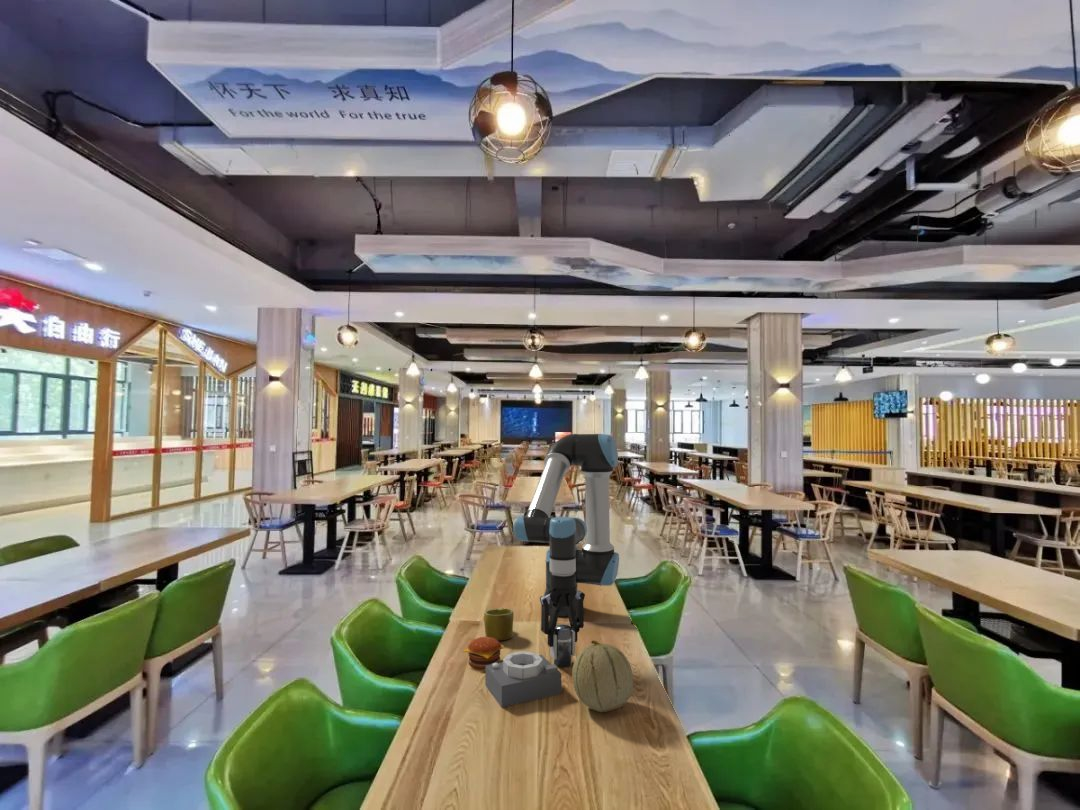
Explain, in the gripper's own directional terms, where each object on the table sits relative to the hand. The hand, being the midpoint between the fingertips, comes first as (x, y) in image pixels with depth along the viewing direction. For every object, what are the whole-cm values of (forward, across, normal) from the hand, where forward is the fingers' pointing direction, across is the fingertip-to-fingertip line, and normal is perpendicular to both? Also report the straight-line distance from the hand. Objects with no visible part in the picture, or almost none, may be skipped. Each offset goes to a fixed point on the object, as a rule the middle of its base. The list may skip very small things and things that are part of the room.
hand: (562, 655), depth 150 cm
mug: (+3, +9, -27) cm, 29 cm away
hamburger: (+3, +20, -10) cm, 23 cm away
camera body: (+2, +16, +9) cm, 18 cm away
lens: (+2, 0, 0) cm, 2 cm away
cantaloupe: (+3, +2, +25) cm, 25 cm away
